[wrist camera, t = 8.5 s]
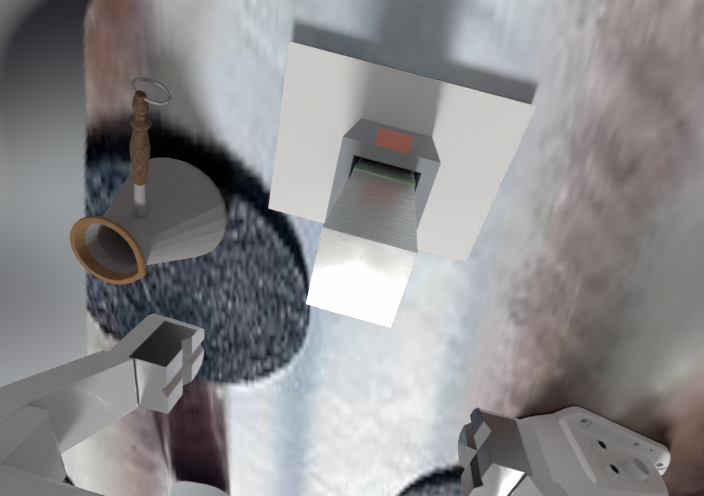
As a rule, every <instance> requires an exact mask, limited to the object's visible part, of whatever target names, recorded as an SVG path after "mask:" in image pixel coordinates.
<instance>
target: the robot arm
mask: <svg viewBox="0 0 704 496" xmlns="http://www.w3.org/2000/svg"><path fill="white" fill-rule="evenodd" d="M203 339H204V330H203V329H202V328H199V327H196V326H193V325H190V324H187V323H183V322H180V321H177V320H174V319H171V318H167V317H164V316H160V315H157V314H151V315H149V316H147V317H146V318H145V319H144V320H143V321H142V322H141V323H140V324H138V325H137V326H136V327H135V328H134V329H133V330H132V331H131V332H130V333H129V334H127V335H126V336H125V337H124V338H123V339H122V340H121V341H120V342H119V343H118V344H117V345H115V346H114V347H113V348H112V349H111V350H110V351H109V352H108V351H105V350H103V351H100V352H97V353H94V354H92V355H89V356H86V357H84V358H80V359H78V360H75V361H72V362H70V363H67V364H64V365H61V366H58V367H55V368H53V369H50V370H47V371H44V372H42V373H39V374H36V375H33V376H31V377H27V378H25V379H22V380H19V381H16V382H14V383H11V384H8V385H5V386H2V387H0V496H104V495H101V494H98V493H94V492H91V491H88V490H84V489H81V488H78V487H75V486H71V485H68V484H65V483H62V481H63V479H64V478H65V475H66V470H65V467H64V464H63V460H62V457H61V453H63V452H64V451H66V450H68V449H70V448H71V447H73V446H75V445H76V444H78V443H80V442H81V441H83V440H85V439H86V438H88V437H90V436H91V435H93V434H95V433H96V432H98V431H100V430H101V429H103V428H105V427H106V426H108V425H110V424H111V423H113V422H115V421H116V420H118V419H120V418H121V417H123V416H125V415H127V414H128V413H130V412H132V411H133V410H135V409H137V408H138V406H140V407H144V408H148V409H151V410H155V411H159V412H163V413H166V414H168V413H169V412H170V410H171V409H172V408H173V406H174V405H175V403H176V402H177V401H178V399H179V398H180V397H181V395H182V386H183V385H185V384H187V383H189V382H191V381H192V380H193V378H194V377H195V375H196V374H197V372H198V370H199V368H200V366H201V363H202V360H203V355H204V349H203V348H202V346H201V345H200V343H201V342H202V341H203ZM470 417H471V423H469V424H466V425H464V427H463V429H462V431H461V432H460V436H459V441H458V456H459V461H460V462H461V464H462V465H463V467H464V468H465V471H464V472H463V474H462V475H461V481H462V488H463V496H669V494H668V490H667V488H666V485H665V483H664V481H663V479H662V477H661V476H662V475H663V473H664V472H665V471H666V469H667V467H668V465H669V463H670V453H669V451H668V449H667V447H665V446H664V445H662V444H660V443H658V442H655V441H653V440H651V439H649V438H647V437H644V436H642V435H640V434H638V433H636V432H634V431H631V430H629V429H627V428H625V427H623V426H620V425H618V424H616V423H614V422H612V421H609V420H607V419H605V418H603V417H601V416H599V415H596V414H594V413H592V412H590V411H588V410H585V409H583V408H581V407H577V406H574V407H569V408H565V409H563V410H560V411H558V412H555V413H552V414H547V415H538V416H532V417H527V418H524V419H516V418H511V417H510V416H506V415H502V414H499V413H495V412H492V411H488V410H484V409H481V408H476V409H474V410H473V412H472V414H471V415H470Z"/></svg>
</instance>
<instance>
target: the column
mask: <svg viewBox="0 0 704 496" xmlns="http://www.w3.org/2000/svg"><path fill="white" fill-rule="evenodd" d="M415 185H416V184H415V179H414V171H412V170H408V169H404V168H400V167H397V166H393V165H389V164H386V163H382V162H378V161H374V160H371V159H367V158H363V157H361V158H360V159H359V161H358V163H357V164H356V165H355V167H354V169H353V172H352V174H351V176H350V178H349V179H348V181H347V183H346V185H345V187H344V188H343V190H342V192H341V194H340V196H339V197H338V199H337V201H336V203H335V205H334V207H333V208H332V210H331V212H330V214H329V216H328V217H327V219H326V221H325V223H324V225H323V226H322V230H321V235H320V240H319V245H318V250H317V254H316V259H315V264H314V269H313V274H312V278H311V283H310V288H309V293H308V298H307V303H306V304H309V305H313V306H316V307H320V308H323V309H327V310H331V311H334V312H338V313H341V314H345V315H348V316H352V317H356V318H359V319H363V320H366V321H370V322H373V323H377V324H381V325H384V326H388V327H391V324H392V321H393V319H394V316H395V313H396V311H397V308H398V305H399V303H400V300H401V297H402V294H403V292H404V289H405V286H406V284H407V281H408V278H409V275H410V273H411V270H412V267H413V265H414V262H415V259H416V257H417V254H418V249H417V227H416V206H415Z"/></svg>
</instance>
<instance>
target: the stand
mask: <svg viewBox="0 0 704 496" xmlns="http://www.w3.org/2000/svg"><path fill="white" fill-rule="evenodd" d="M535 108H536V106H534V105H531V104H527V103H523V102H519V101H516V100H512V99H508V98H504V97H500V96H497V95H493V94H489V93H485V92H481V91H478V90H474V89H470V88H466V87H462V86H458V85H455V84H451V83H447V82H443V81H439V80H436V79H432V78H428V77H424V76H420V75H416V74H413V73H409V72H405V71H401V70H397V69H394V68H390V67H386V66H382V65H378V64H375V63H371V62H367V61H363V60H359V59H355V58H352V57H348V56H344V55H340V54H336V53H333V52H329V51H325V50H321V49H317V48H314V47H310V46H306V45H302V44H298V43H294V42H290V41H289V44H288V52H287V60H286V69H285V77H284V85H283V93H282V102H281V110H280V118H279V126H278V135H277V143H276V151H275V159H274V168H273V176H272V184H271V192H270V200H269V209H273V210H276V211H280V212H284V213H287V214H291V215H295V216H298V217H302V218H306V219H309V220H313V221H317V222H320V223H325V221H326V219H327V217H328V216H329V214H330V212H331V210H332V208H333V207H334V205H335V203H336V201H337V199H338V197H339V196H340V194H341V192H342V190H343V188H344V187H345V185H346V183H347V181H348V179H349V178H350V176H351V174H352V172H353V169H354V167H355V165H356V164H357V163H358V161H359V159H360V158H361V157H363V158H367V159H371V160H374V161H378V162H382V163H386V164H389V165H393V166H397V167H400V168H404V169H408V170H412V171H414V179H415V184H416V185H415V206H416V227H417V249H419V250H422V251H426V252H430V253H433V254H437V255H441V256H444V257H448V258H452V259H455V260H459V261H463V262H466V260H467V258H468V256H469V254H470V252H471V249H472V247H473V245H474V243H475V241H476V238H477V236H478V234H479V232H480V230H481V227H482V225H483V223H484V221H485V218H486V216H487V214H488V212H489V210H490V207H491V205H492V203H493V201H494V199H495V196H496V194H497V192H498V190H499V188H500V185H501V183H502V181H503V179H504V177H505V174H506V172H507V170H508V168H509V166H510V163H511V161H512V159H513V157H514V155H515V152H516V150H517V148H518V146H519V144H520V141H521V139H522V137H523V135H524V132H525V130H526V128H527V126H528V124H529V121H530V119H531V117H532V115H533V113H534V110H535Z"/></svg>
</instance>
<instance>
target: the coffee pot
mask: <svg viewBox="0 0 704 496" xmlns="http://www.w3.org/2000/svg"><path fill="white" fill-rule="evenodd" d="M137 81H147V82H151V83H154V84H156V85H158V86H160V87H161V88H162V89H163V90H164V91H165V92H166V93H167V95H168V97H169V98H168V100H167V101H164V102H156V101H152V100H150V99H147V98H146V94H145V92H143V91H136V90H135V88H134V84H135V82H137ZM131 87H132V89H133V91H134V92H135V96H134V98H133V103H132V107H133V110H134V115H132V116H131V117H130V118H129V122H130V124H131V126H132V127H133V133H132V138H131V141H130V155H131V164H132V171H131V173H130V174H129V176H128V178H127V179H126V181H125V182H124V184H123V185H122V187H121V189H120V190H119V192H118V193H117V195H116V196H115V198H114V200H113V201H112V203H111V204H110V206H109V208H108V209H107V211H106V212H105V214H104V215H103V217H100V216H88V217H85V218H82V219H80V220H79V221H78V222H76V223H75V224H74V226H73V228H72V230H71V232H70V242H71V247H72V250H73V252H74V254H75V256H76V258H77V259H78V260H79V262H80V263H81V264H82V265H83V266H84V267H85V268H86V269H87V270H88V271H89V272H90V273H92V274H93V275H94V276H96V277H97V278H99V279H101V280H104V281H106V282H109V283H113V284H127V283H131V282H134V281H136V280H138V279H140V278H141V277H143V276H144V275H146V266H147V265H149V264H155V263H161V262H168V261H174V260H180V259H186V258H192V257H197V256H201V255H205V254H207V253H208V252H210V251H211V250H213V249H215V248H216V247H217V245H218V244H219V243H220V241H221V240H222V239H223V236H224V233H225V230H226V225H227V211H226V206H225V202H224V199H223V197H222V195H221V193H220V191H219V189H218V188H217V186H216V185H215V184H214V183H213V181H212V180H211V179H210V178H209V177H208V176H207V175H206V174H204V173H203V172H202V171H201V170H200V169H198V168H196V167H194V166H192V165H190V164H189V163H187V162H184V161H180V160H176V159H172V158H152V159H149V157H150V149H151V147H150V143H149V137H148V131H147V130H148V129H149V128H150V127H151V121H150V119H149V118H148V117H147V112H148V110H149V106H148V102H149V103H151V104H156V105H160V106H161V105H165V104H168V103H169V101H170V100H171V96H170V93H169V91H168V90H167V89H166V88H165V87H164V86H163V85H162V84H160V83H158V82H156V81H154V80H152V79H148V78H143V77H141V78H135V79H134V80H133V81H132V82H131Z"/></svg>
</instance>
